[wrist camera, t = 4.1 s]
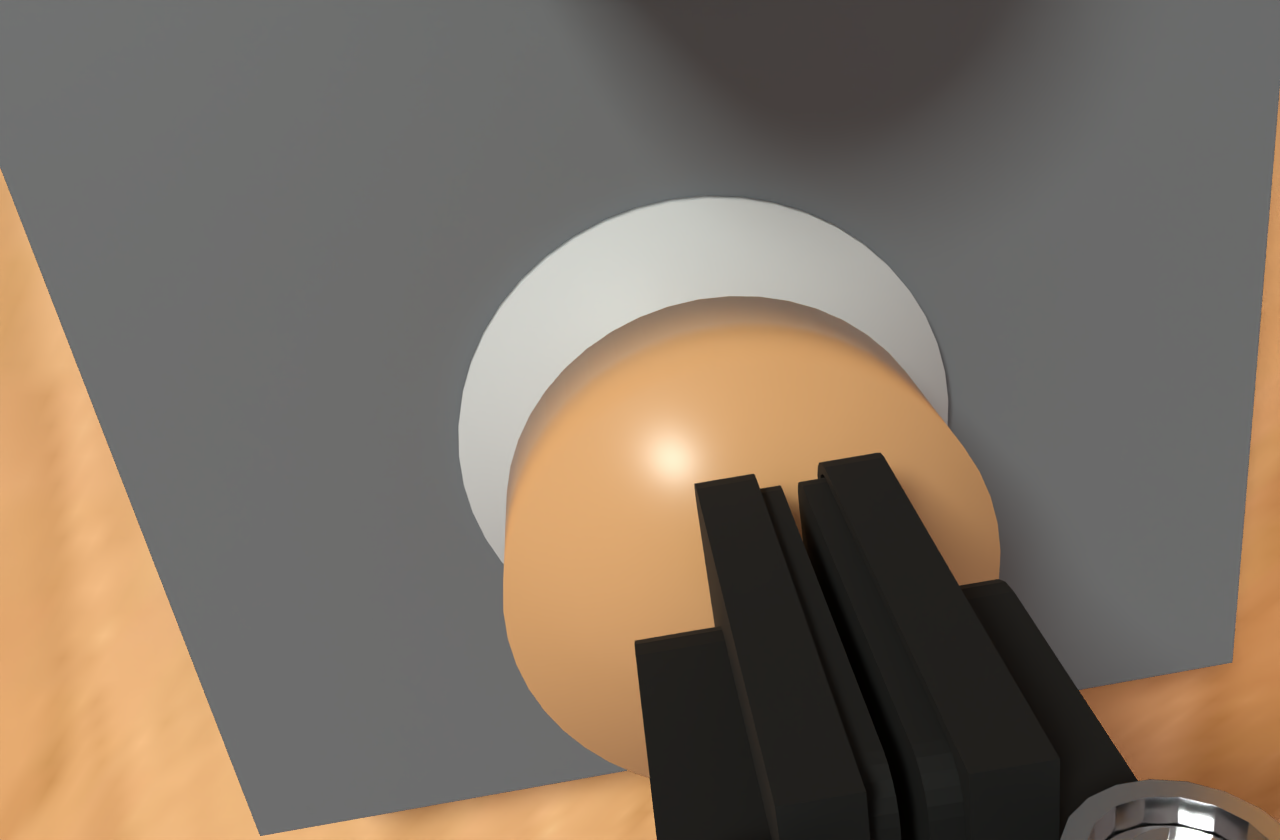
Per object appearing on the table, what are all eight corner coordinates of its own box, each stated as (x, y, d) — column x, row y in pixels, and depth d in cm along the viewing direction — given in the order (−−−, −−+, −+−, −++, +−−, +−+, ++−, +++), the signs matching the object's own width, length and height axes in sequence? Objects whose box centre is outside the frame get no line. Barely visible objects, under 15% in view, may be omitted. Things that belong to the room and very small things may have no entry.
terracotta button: (902, 232, 13) (995, 319, 10) (923, 596, 15) (1004, 745, 12) (467, 307, 13) (453, 413, 10) (548, 662, 15) (553, 825, 12)
